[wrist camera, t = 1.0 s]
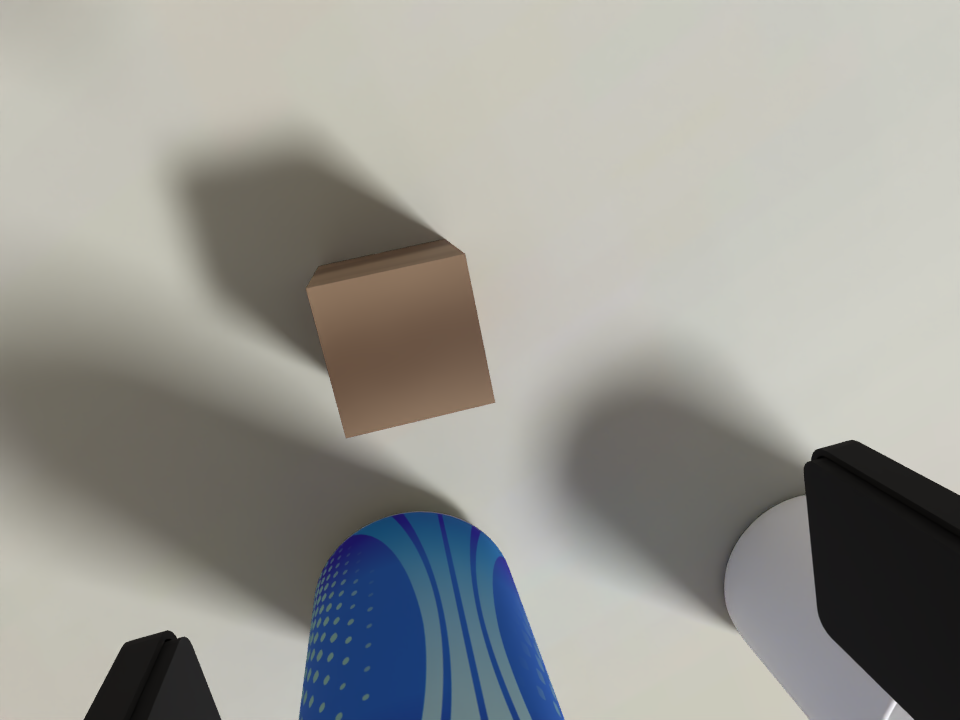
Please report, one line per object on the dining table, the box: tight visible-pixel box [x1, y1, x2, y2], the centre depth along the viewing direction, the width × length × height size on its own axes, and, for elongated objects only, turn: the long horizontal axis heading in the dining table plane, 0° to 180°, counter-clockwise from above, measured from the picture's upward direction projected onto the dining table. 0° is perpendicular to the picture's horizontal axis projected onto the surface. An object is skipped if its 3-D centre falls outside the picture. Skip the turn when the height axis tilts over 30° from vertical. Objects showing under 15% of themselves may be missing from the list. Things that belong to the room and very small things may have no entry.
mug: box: [724, 495, 914, 720], centre depth 29 cm, size 9×12×11 cm
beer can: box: [299, 511, 564, 720], centre depth 23 cm, size 8×8×16 cm
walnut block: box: [306, 239, 495, 438], centre depth 25 cm, size 5×5×6 cm
